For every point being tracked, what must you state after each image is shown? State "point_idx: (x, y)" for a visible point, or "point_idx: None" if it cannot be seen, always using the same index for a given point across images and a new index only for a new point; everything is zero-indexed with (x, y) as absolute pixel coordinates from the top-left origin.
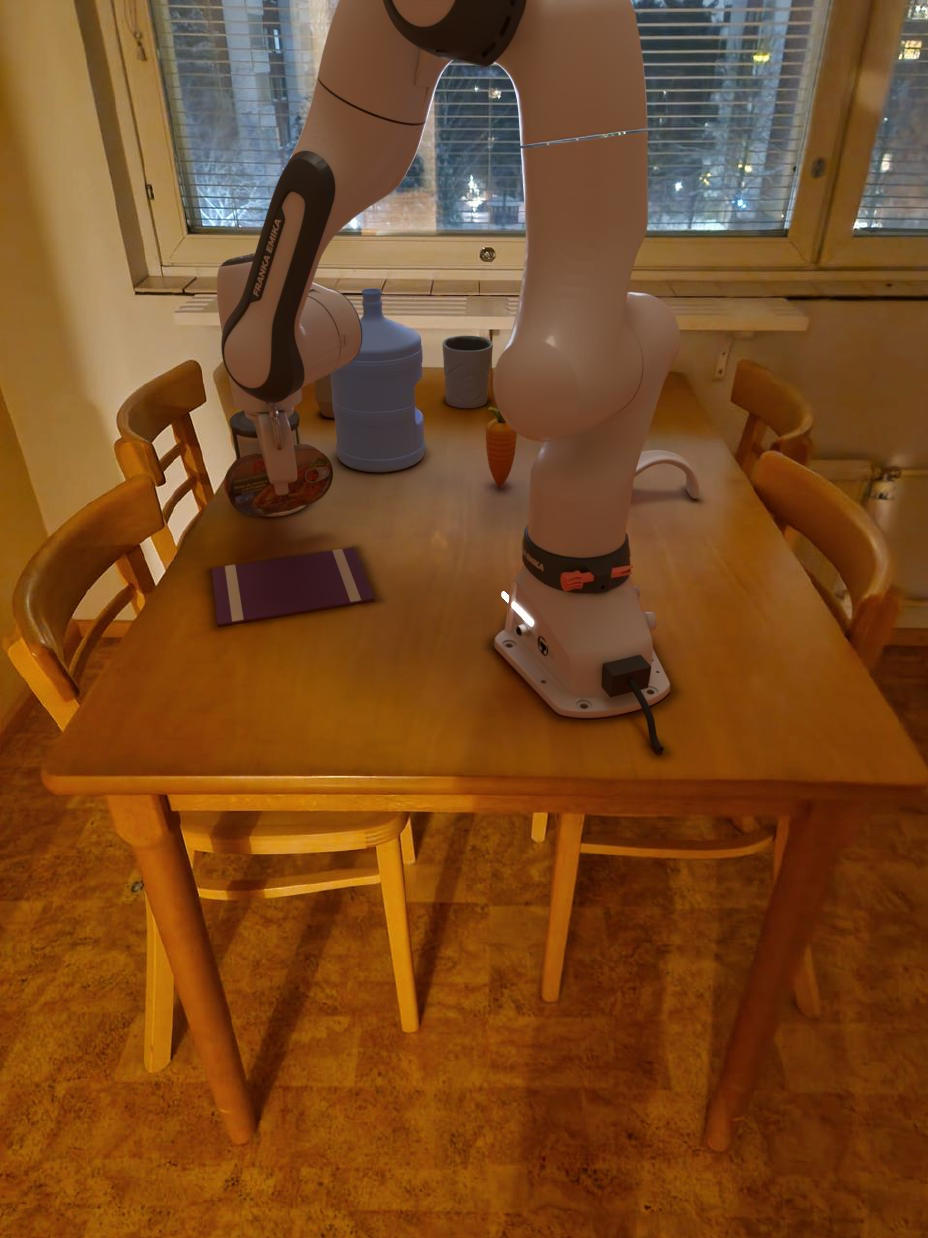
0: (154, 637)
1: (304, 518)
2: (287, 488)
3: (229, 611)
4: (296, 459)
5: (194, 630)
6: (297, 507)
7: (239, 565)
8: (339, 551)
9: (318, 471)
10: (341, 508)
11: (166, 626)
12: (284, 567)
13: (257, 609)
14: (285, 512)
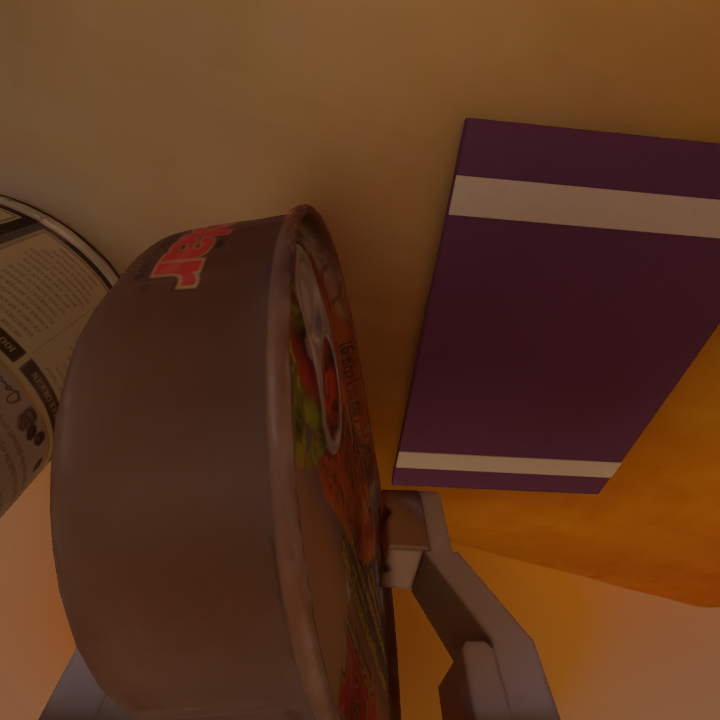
0: (552, 549)
1: None
2: (443, 515)
3: (574, 477)
4: (333, 608)
5: (576, 513)
6: (92, 261)
7: (407, 445)
8: (470, 190)
9: (320, 356)
10: (69, 58)
11: (534, 538)
12: (471, 366)
13: (607, 439)
14: None
